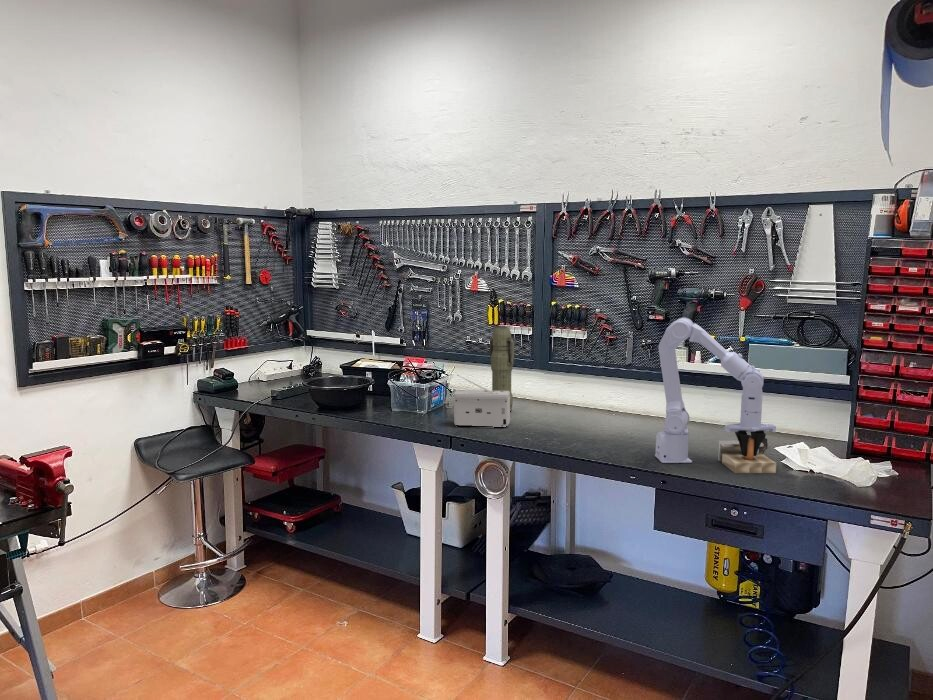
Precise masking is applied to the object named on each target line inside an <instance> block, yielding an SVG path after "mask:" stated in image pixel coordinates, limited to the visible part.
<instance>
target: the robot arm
mask: <svg viewBox="0 0 933 700" xmlns="http://www.w3.org/2000/svg"><path fill="white" fill-rule="evenodd" d="M687 339H688V341H689V342H690V343H691V342H692V343H698V344H700V345H701V346H703V347H704V348H705V349H706V350H708V351H709V352H710V353H711V354H712V355H714V356H715V357H717V359H718V360H720V367H721V368H723V369H724V370H725V371H726V372H727V373H728V374H729V375H731V376H732V377H733V378H734V379H735V380H737V381H739V382H740V383H741V387H742V393H741V401H740V402H741V403H740V420H739V421H740V423H731V424H724V432H726V433H731V432H732V433H734V434H735V436H736V438H737V440H738V441H739V444H740V448H741V453H742V455H743V456H747V445H748V440H749V435H751V439H754V456H756V455H757V452H758V449H759V447H760V444H761V443H762V441H763V440H764V438H766V436H767V434H766V432H767V433H768V432H771V433H776V431H777V425H775V424H772V423H769V424H768V423H762V413H763V412H762V411H763V387H764V380H765V378H764V375H763V374H762V372H760V370H759V369H757V368H756V367H755V365H750V363H748V362H747V361H746V360H745V359H744V358H743V355H742V354H741V353H740V352H739V353H737V352H735V351H728V350H727V349H725V348H724V347H723V346H722V344H720V343H719V342H718V341H717V340H716V339H715V338H714V337H712V336H711V335H710V334H709V332H707V331H706V330H705V329H704V328H702V326H700V325H698V324H697V323H695V322H693V320H691V319H690V318H688V317H679V318H678V319H676V320H674V321H672V322H671V324H670V325H669V326H668V327H667V328H666V329H665V331H664V334H663V335H662V338H661V339H660V341H659V343H658V353H659V360H660V368H661V375H662V381H663V388H664V394H665V403H666V404H665V405H666V406H665V413H666V414H665V419H664V427H665V428H664V431H658V432H657V433H656V436H655V454H654V457H655V458H657V459H658V461H659V462H661V464H663V463H664V464H679V463H681V464H688V463H689V464H690V463H693V460H692V459H690V458H689V457H688V456H689V439H690V438H689V437H690V431H689V429H688V428H687V425H688V424H689V422H690V414H689V413H688V411H687V409H686V407H685V403H684V400H683V393H682V388H681V381H680V375H679V367H678V360H677V353H676V349H677V348H678V347H679V346H680V345H681V343H683V342H684V341H685V340H687ZM748 433H750V434H748Z"/></svg>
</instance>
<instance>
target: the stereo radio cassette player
mask: <svg viewBox="0 0 933 700" xmlns="http://www.w3.org/2000/svg"><path fill="white" fill-rule="evenodd" d="M456 376H457V377H460V378H461V379H464V380H466V381H467V382H468V383H471V384H473V385H475V386H477V387H479V388H480V389H482V390H479V389H477V390H475V389H474V390H473V389H457V390H454V393H453V422H454V423H453V424H454V425H455V426H456V425H472V426H493V427H492V428H494V427H506V426H507V427H508V426H509V425H510V422H511V412H510V392H509V391H492V390H488V389H487V388H485V387H483V386H482V385H479V384H478V383H476V382H473V381H471V380H470V379H467V378H465V377H463V376H461V375H459V374H457V375H456ZM507 427H506V428H507Z"/></svg>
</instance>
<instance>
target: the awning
mask: <svg viewBox="0 0 933 700" xmlns="http://www.w3.org/2000/svg"><path fill="white" fill-rule="evenodd" d="M760 447H764V444H763V443H761V444H760ZM758 452H759V449H758ZM758 452H757V453H758ZM722 454H742V453H741V448H740V444H739V441H738V439H737V440H736V439H735V440H732V439H731V440H718V454H717V455H718V456H717V458H718V459H717V460H718V462H722Z"/></svg>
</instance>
